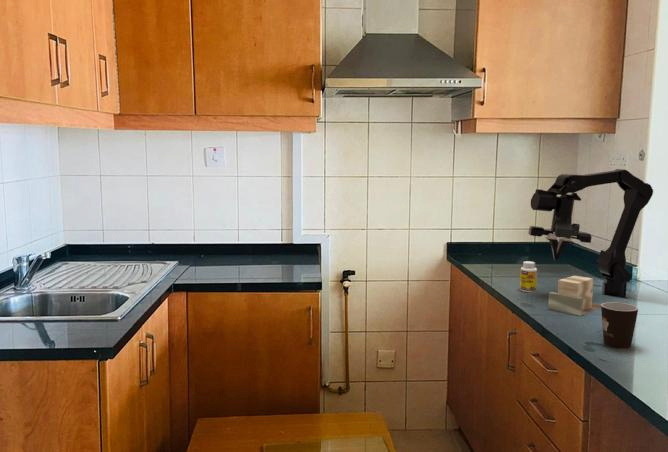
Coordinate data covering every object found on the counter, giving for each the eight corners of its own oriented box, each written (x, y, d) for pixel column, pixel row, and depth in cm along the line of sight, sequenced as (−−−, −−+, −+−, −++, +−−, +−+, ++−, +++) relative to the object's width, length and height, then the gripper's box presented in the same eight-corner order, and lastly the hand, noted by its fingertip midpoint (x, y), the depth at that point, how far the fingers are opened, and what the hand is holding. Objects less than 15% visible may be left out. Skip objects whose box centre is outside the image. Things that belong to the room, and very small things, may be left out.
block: (573, 303, 190) (574, 275, 189) (591, 307, 186) (593, 278, 185) (557, 309, 184) (558, 280, 182) (576, 313, 179) (577, 283, 178)
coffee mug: (637, 351, 150) (639, 312, 149) (599, 347, 154) (601, 309, 152) (633, 338, 161) (635, 301, 160) (597, 334, 164) (600, 298, 163)
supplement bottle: (518, 291, 212) (519, 262, 211) (521, 288, 217) (522, 260, 216) (534, 293, 209) (535, 264, 208) (537, 290, 214) (539, 261, 213)
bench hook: (574, 304, 195) (575, 284, 194) (605, 310, 188) (606, 289, 187) (548, 313, 184) (548, 292, 183) (579, 320, 177) (581, 298, 176)
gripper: (536, 211, 191) (529, 260, 193) (599, 218, 188) (591, 268, 190) (531, 208, 202) (524, 255, 204) (590, 215, 199) (583, 262, 200)
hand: (555, 260), depth 199 cm, fingers closed
